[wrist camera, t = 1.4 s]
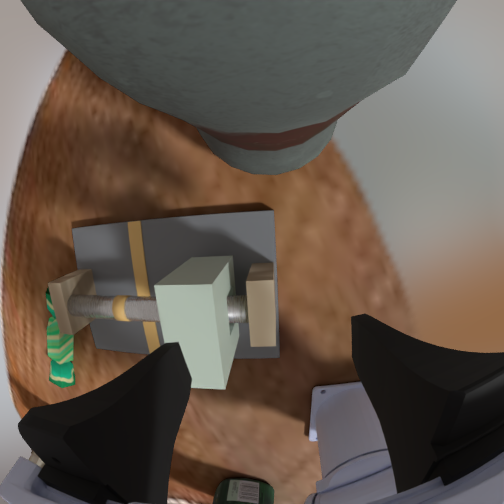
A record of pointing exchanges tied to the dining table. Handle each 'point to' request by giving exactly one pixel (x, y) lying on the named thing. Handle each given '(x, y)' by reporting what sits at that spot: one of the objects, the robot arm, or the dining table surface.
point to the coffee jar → (243, 492)
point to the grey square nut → (200, 317)
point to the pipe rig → (159, 266)
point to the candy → (59, 351)
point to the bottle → (247, 63)
